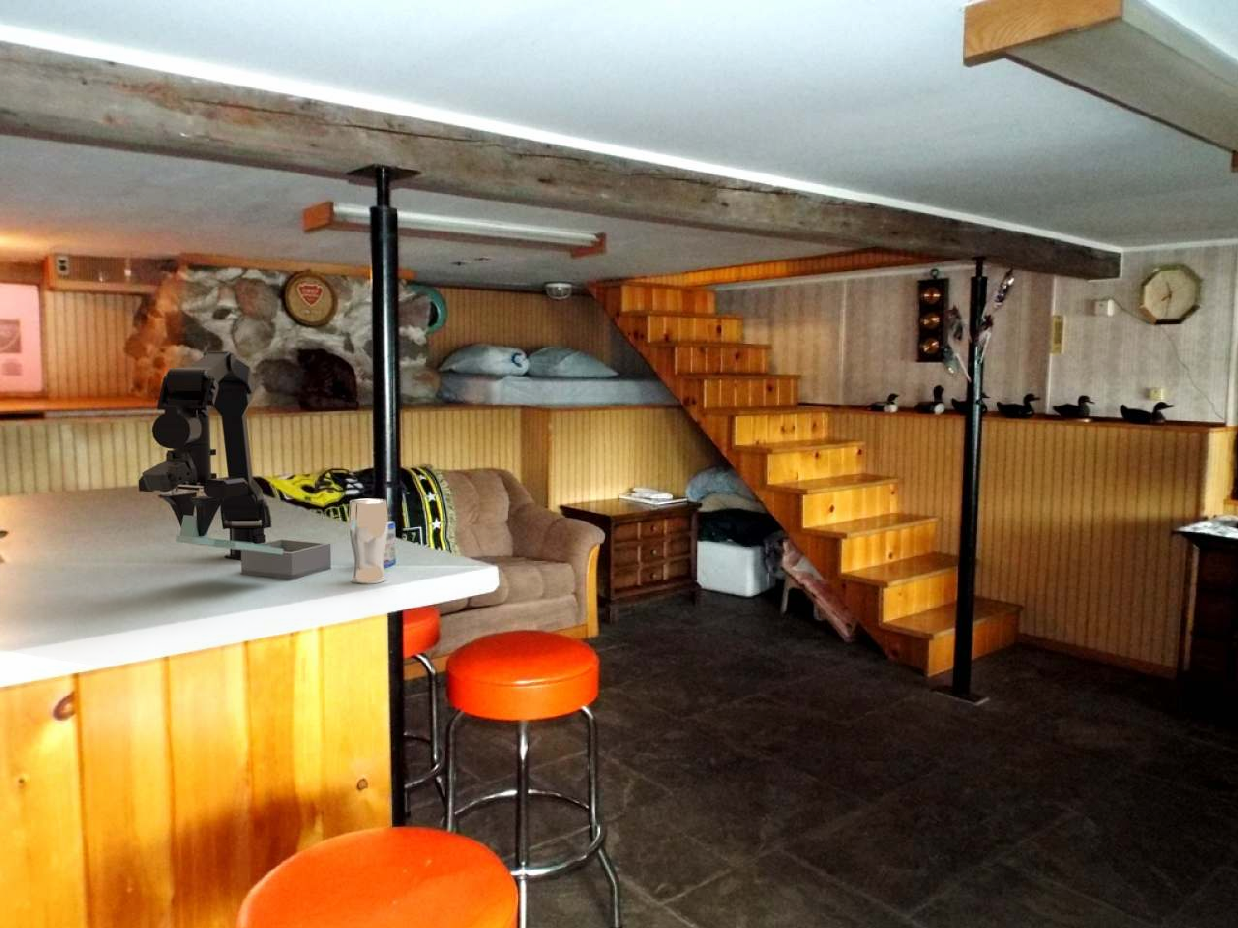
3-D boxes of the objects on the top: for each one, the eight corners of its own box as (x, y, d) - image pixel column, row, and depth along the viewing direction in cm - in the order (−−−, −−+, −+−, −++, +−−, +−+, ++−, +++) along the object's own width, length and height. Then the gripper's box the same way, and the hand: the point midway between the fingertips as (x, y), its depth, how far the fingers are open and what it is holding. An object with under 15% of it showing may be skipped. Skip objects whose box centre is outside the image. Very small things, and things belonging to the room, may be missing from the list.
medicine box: (378, 571, 180) (378, 527, 179) (357, 570, 181) (357, 526, 180) (396, 563, 187) (395, 521, 187) (376, 562, 188) (375, 520, 188)
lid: (155, 539, 157) (160, 513, 158) (226, 548, 172) (230, 524, 173) (214, 545, 152) (219, 518, 153) (282, 554, 168) (286, 529, 168)
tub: (241, 573, 175) (240, 548, 175) (281, 563, 186) (281, 538, 185) (292, 579, 171) (291, 553, 171) (330, 568, 181) (330, 543, 181)
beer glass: (353, 576, 175) (352, 498, 173) (391, 576, 175) (390, 498, 174) (346, 584, 168) (345, 503, 167) (384, 584, 169) (384, 503, 167)
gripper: (109, 444, 151) (112, 538, 152) (197, 449, 144) (200, 547, 146) (164, 440, 161) (167, 528, 163) (249, 444, 155) (251, 536, 156)
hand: (194, 535), depth 157 cm, fingers closed on lid, 3 cm apart
